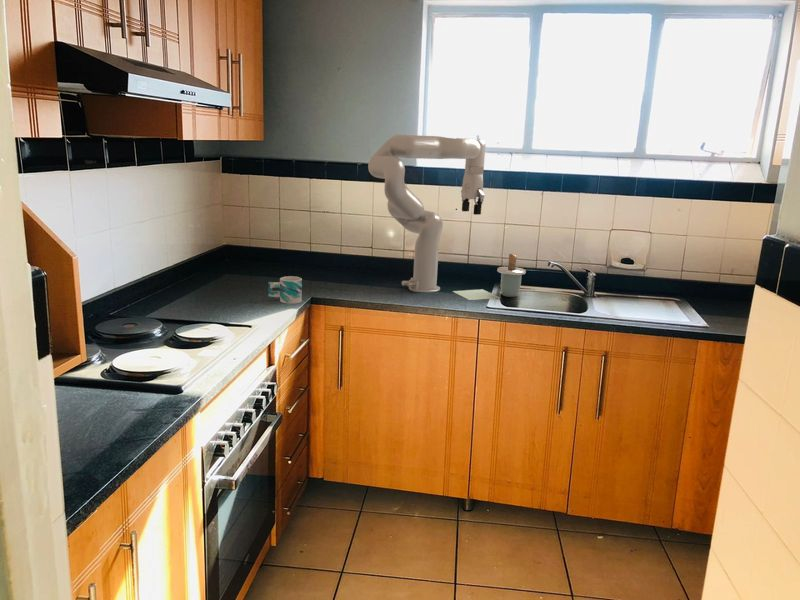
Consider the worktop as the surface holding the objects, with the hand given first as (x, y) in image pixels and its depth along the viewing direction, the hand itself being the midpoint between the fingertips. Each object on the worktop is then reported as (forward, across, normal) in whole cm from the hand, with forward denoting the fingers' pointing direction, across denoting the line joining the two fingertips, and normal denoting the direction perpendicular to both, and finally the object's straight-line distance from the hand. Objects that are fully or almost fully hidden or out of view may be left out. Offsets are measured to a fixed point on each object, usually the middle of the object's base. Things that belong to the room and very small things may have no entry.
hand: (471, 212), depth 273 cm
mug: (+31, +8, -80) cm, 86 cm away
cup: (+31, +23, +7) cm, 39 cm away
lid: (+20, +23, +7) cm, 31 cm away
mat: (+30, +19, -6) cm, 36 cm away
